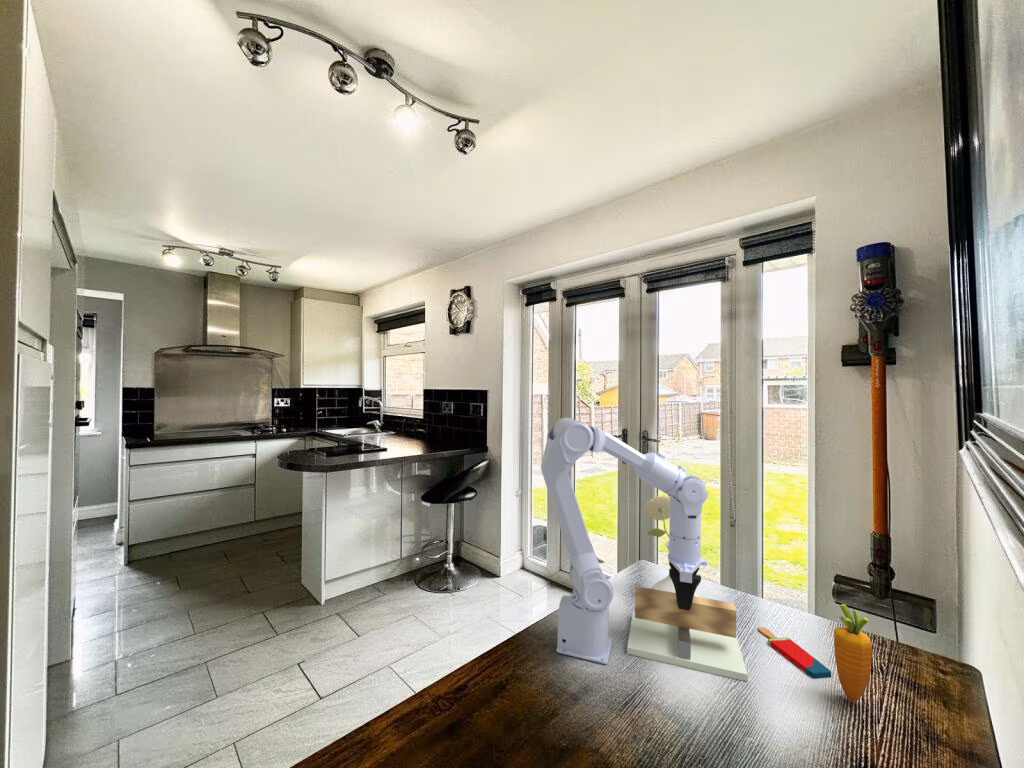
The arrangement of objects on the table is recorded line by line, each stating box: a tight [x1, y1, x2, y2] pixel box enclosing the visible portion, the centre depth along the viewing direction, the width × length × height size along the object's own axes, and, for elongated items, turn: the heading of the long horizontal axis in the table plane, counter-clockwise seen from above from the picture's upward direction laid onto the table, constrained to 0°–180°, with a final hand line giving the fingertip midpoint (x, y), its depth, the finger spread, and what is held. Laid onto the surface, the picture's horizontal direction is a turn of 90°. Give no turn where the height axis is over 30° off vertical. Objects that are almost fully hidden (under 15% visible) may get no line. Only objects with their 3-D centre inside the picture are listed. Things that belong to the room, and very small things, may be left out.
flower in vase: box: [643, 495, 701, 597], centre depth 99 cm, size 13×11×25 cm
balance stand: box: [626, 610, 749, 683], centre depth 82 cm, size 20×14×4 cm
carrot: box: [833, 603, 873, 703], centre depth 68 cm, size 5×5×15 cm
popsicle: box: [757, 626, 832, 680], centre depth 81 cm, size 5×2×15 cm
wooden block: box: [634, 586, 737, 638], centre depth 82 cm, size 18×3×5 cm, turn 70°
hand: (683, 604), depth 82 cm, fingers closed on wooden block, 3 cm apart
